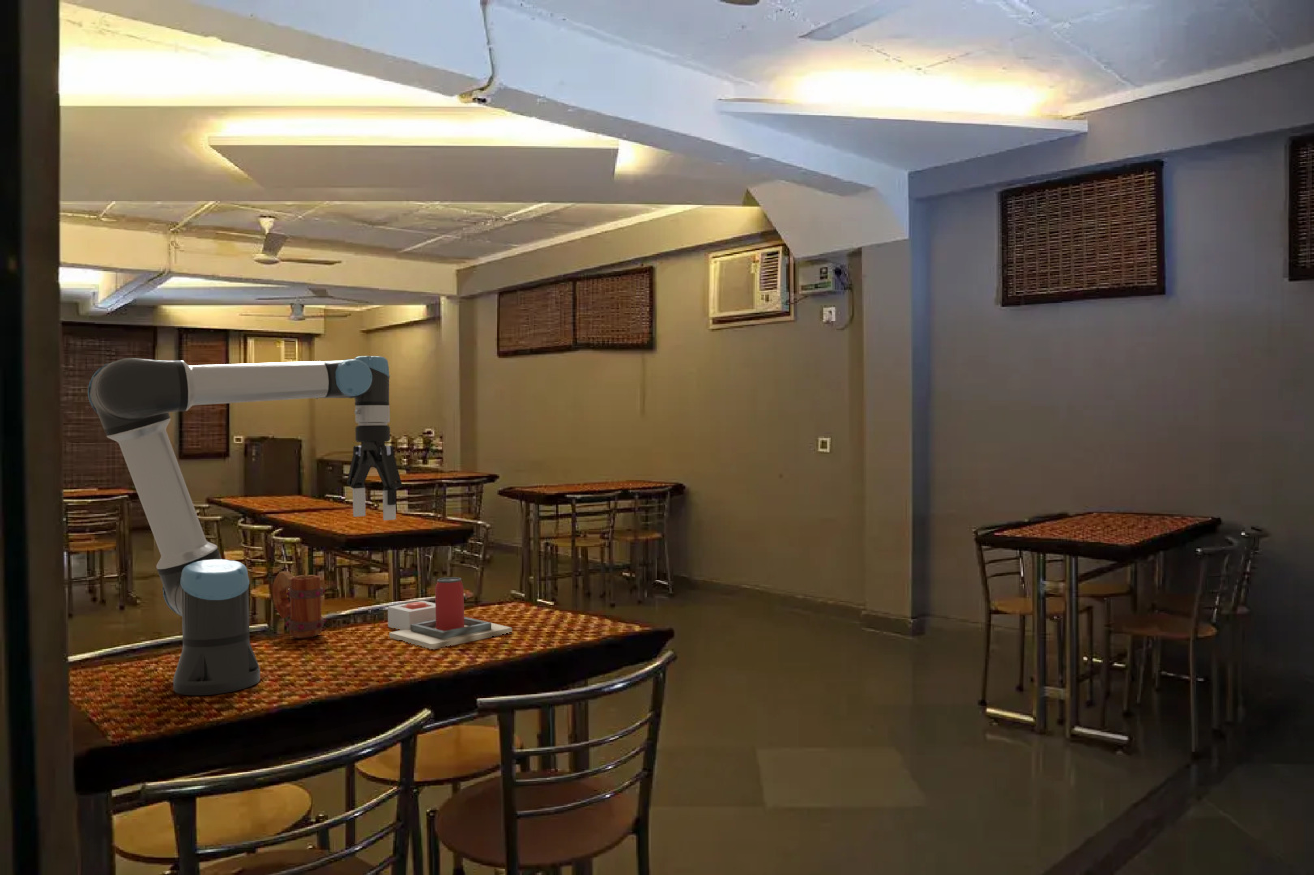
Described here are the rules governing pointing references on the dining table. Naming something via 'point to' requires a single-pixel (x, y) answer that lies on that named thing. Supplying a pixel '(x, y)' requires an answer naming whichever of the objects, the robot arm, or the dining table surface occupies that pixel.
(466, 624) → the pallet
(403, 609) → the button box
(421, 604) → the button
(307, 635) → the mug
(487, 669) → the dining table surface
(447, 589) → the beer can
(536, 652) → the dining table surface
